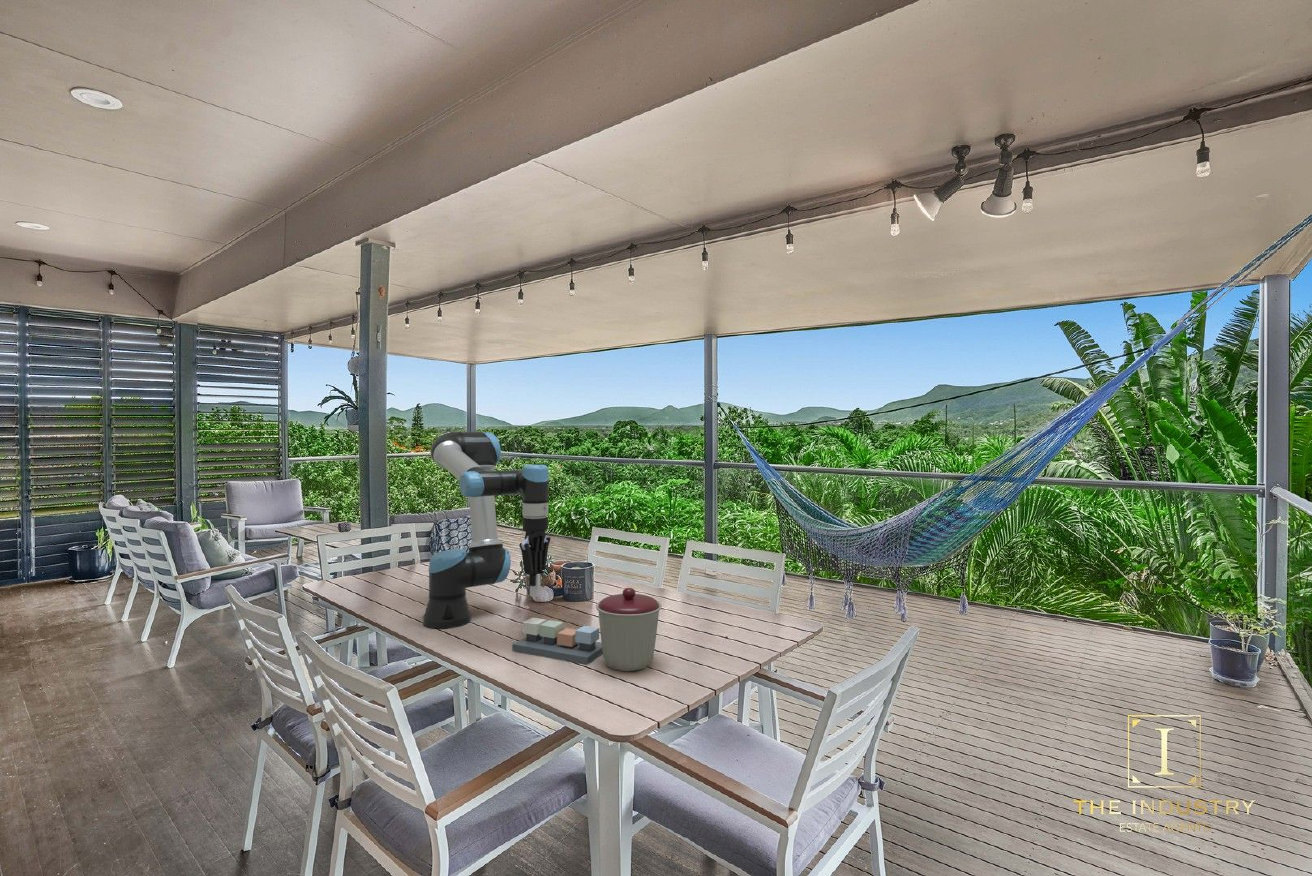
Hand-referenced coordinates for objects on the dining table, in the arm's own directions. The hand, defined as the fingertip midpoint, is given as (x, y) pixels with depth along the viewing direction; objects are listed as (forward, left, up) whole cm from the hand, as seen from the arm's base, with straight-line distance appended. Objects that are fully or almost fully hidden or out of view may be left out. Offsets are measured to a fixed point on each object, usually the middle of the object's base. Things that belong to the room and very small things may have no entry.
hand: (535, 596), depth 177 cm
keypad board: (+9, 0, -15) cm, 17 cm away
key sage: (+6, 0, -11) cm, 12 cm away
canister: (+31, -1, -15) cm, 35 cm away
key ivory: (0, 0, -11) cm, 11 cm away
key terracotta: (+12, 0, -12) cm, 17 cm away
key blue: (+18, 0, -11) cm, 21 cm away
